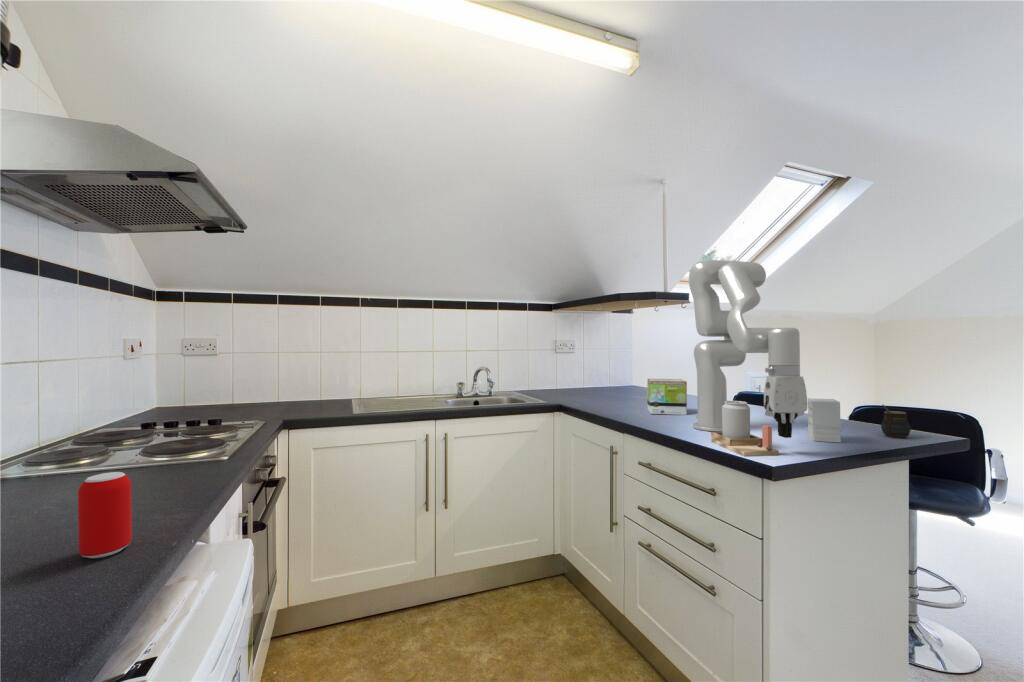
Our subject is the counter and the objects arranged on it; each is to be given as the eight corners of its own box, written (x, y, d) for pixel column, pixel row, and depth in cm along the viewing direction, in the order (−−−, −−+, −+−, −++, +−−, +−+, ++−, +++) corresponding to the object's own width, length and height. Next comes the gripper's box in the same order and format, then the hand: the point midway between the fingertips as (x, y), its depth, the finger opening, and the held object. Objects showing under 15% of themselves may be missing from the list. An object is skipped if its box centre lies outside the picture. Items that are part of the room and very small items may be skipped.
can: (745, 438, 135) (745, 400, 135) (754, 444, 128) (753, 403, 128) (719, 438, 137) (719, 399, 137) (726, 443, 129) (726, 403, 129)
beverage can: (70, 565, 65) (69, 484, 65) (89, 547, 71) (88, 473, 71) (123, 556, 68) (122, 478, 68) (137, 539, 73) (136, 468, 73)
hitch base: (711, 441, 137) (711, 432, 137) (741, 440, 138) (741, 431, 138) (743, 456, 120) (743, 445, 120) (778, 455, 121) (778, 444, 121)
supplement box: (835, 438, 140) (834, 398, 140) (841, 443, 133) (840, 401, 133) (807, 436, 143) (807, 397, 143) (812, 441, 136) (811, 400, 136)
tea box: (650, 414, 187) (650, 380, 187) (647, 411, 197) (646, 378, 197) (687, 415, 185) (686, 380, 185) (682, 411, 195) (681, 378, 195)
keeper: (762, 424, 124) (766, 424, 124) (762, 446, 124) (766, 446, 124) (767, 426, 121) (771, 426, 122) (768, 448, 121) (772, 448, 122)
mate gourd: (902, 440, 136) (901, 408, 136) (874, 435, 143) (873, 405, 143) (916, 437, 138) (915, 406, 139) (888, 433, 146) (887, 403, 146)
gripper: (767, 373, 119) (768, 440, 119) (819, 372, 120) (820, 438, 120) (750, 371, 126) (751, 434, 126) (799, 370, 127) (800, 433, 127)
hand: (784, 436), depth 123 cm, fingers closed
